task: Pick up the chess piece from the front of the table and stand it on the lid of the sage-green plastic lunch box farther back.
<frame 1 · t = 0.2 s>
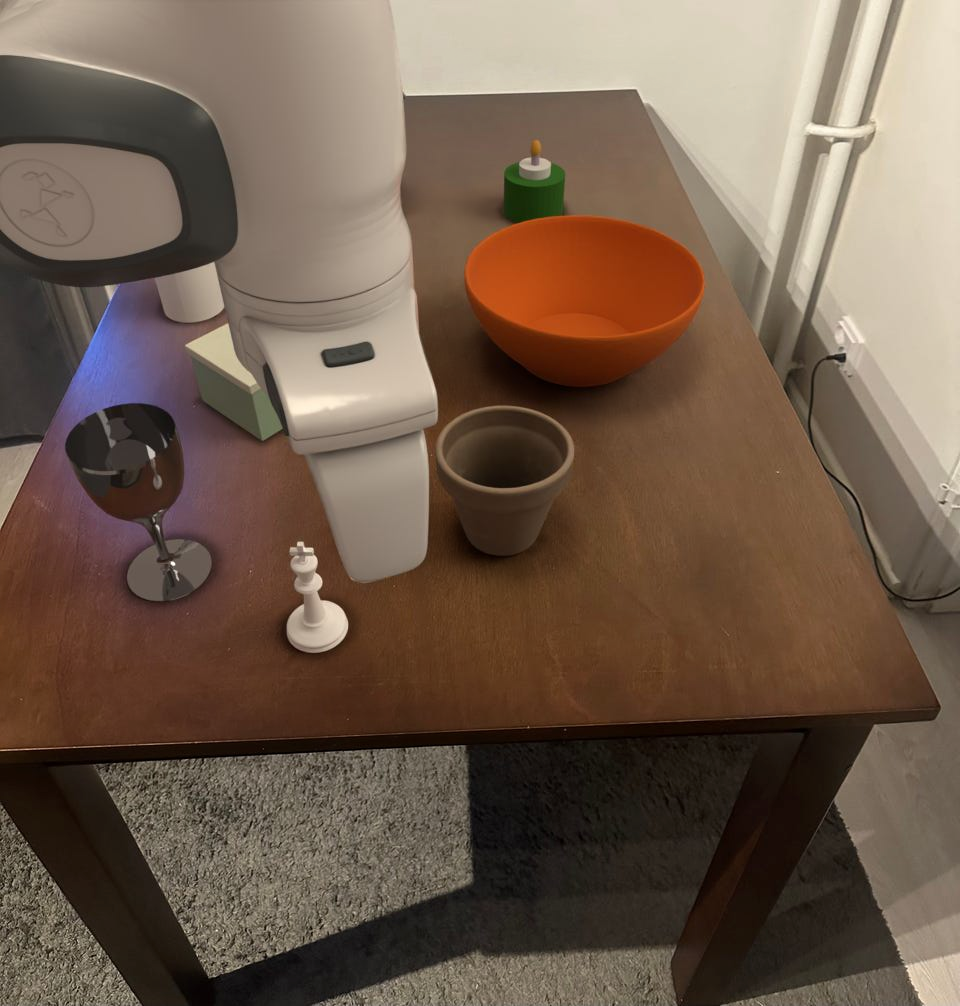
hand: (351, 514, 52), 21 cm above the table, tool pointing down, fingers open, 8 cm apart
cylindrical container: (195, 307, 107), on the table
chess piece: (318, 629, 72), on the table
flower pot: (502, 531, 80), on the table
lunch bag: (332, 200, 127), on the table
bowl: (576, 351, 100), on the table
candle: (533, 212, 125), on the table
wine glass: (170, 571, 77), on the table
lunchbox: (281, 391, 95), on the table
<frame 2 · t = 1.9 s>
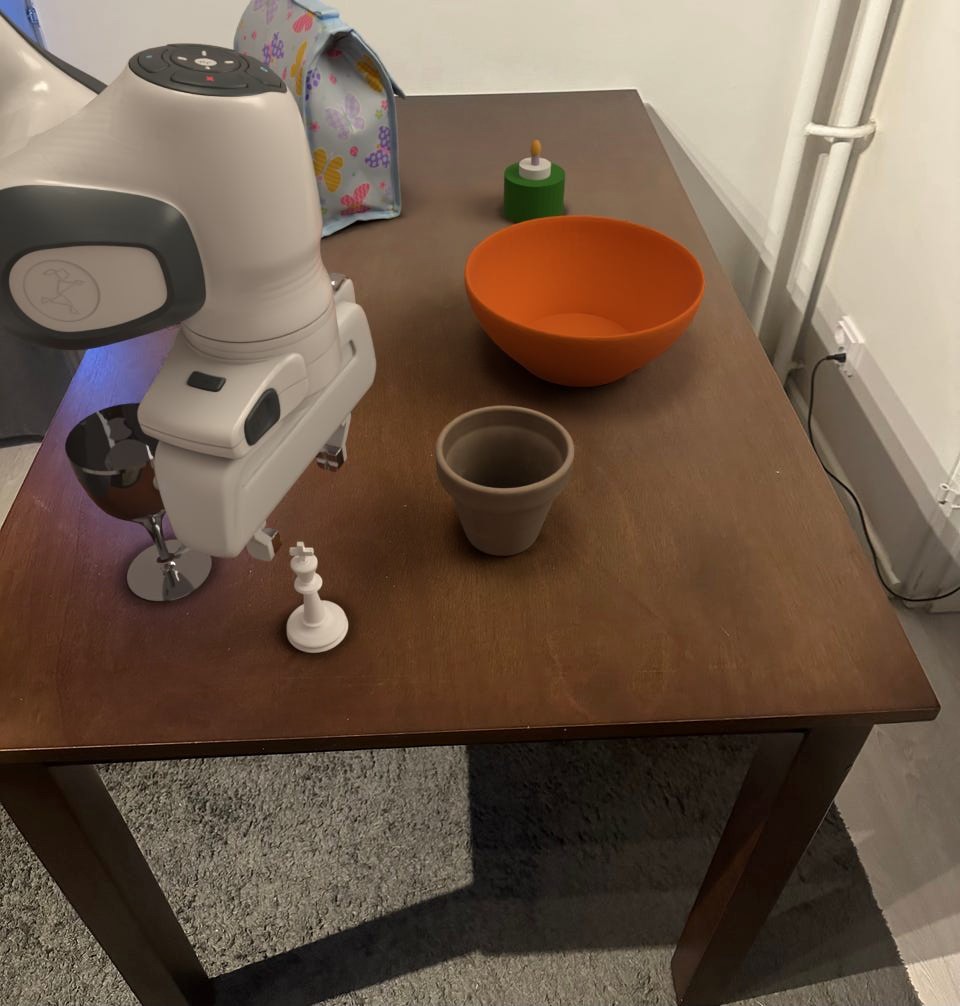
hand: (301, 506, 63), 14 cm above the table, tool pointing down, fingers open, 8 cm apart
nothing on the table moved.
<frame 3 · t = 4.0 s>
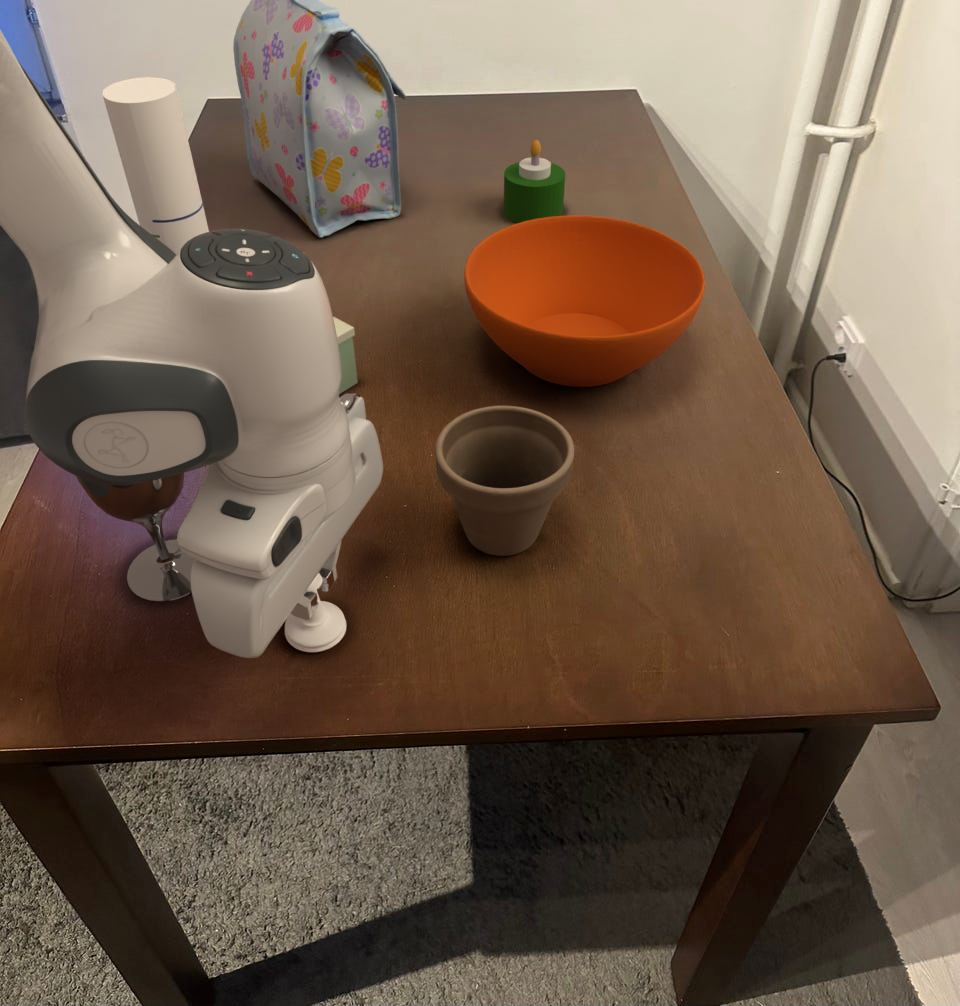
hand: (314, 597, 70), 4 cm above the table, tool pointing down, fingers closed on chess piece
chess piece: (316, 630, 72), on the table, touching gripper
everything else where it was.
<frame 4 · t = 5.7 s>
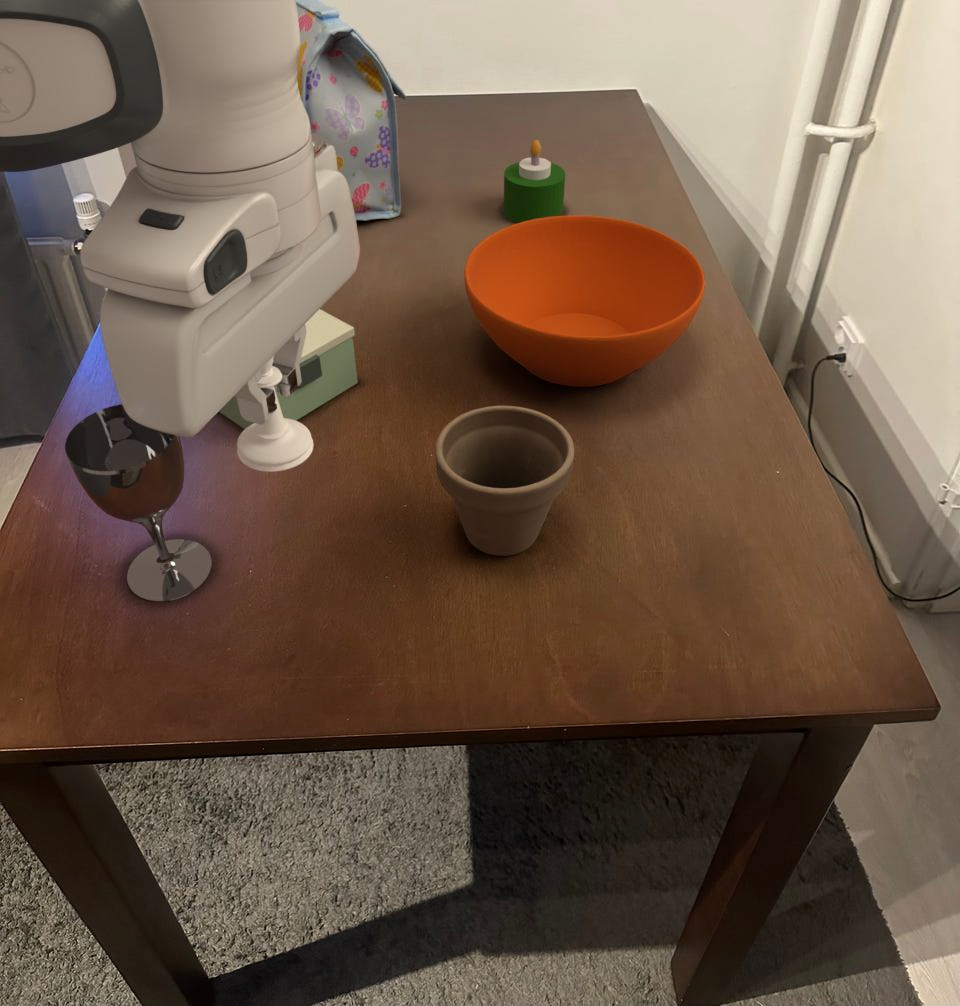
hand: (272, 402, 56), 23 cm above the table, tool pointing down, fingers closed on chess piece
chess piece: (276, 450, 59), point 19 cm above the table, touching gripper
everything else where it was.
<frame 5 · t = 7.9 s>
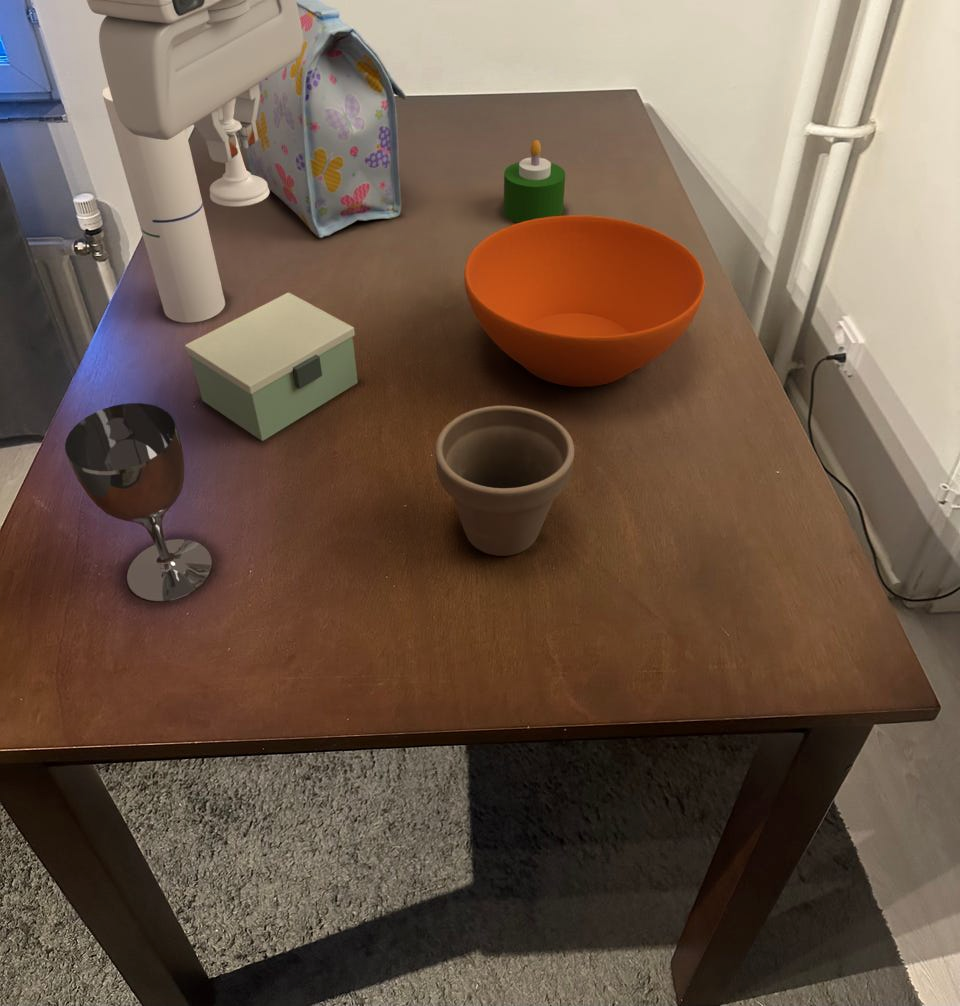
hand: (235, 151, 73), 27 cm above the table, tool pointing down, fingers closed on chess piece
chess piece: (240, 196, 75), point 24 cm above the table, touching gripper
everything else where it was.
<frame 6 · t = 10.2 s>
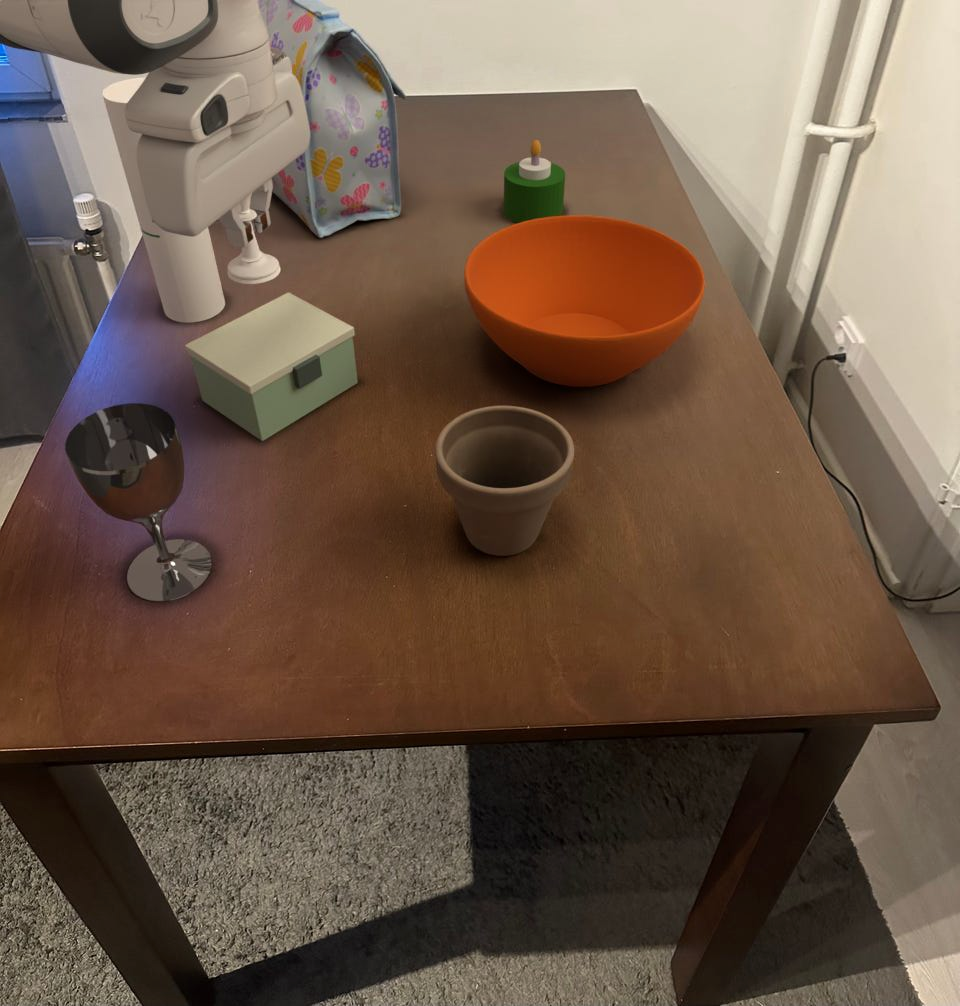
hand: (250, 236, 82), 18 cm above the table, tool pointing down, fingers closed on chess piece
chess piece: (254, 273, 85), point 14 cm above the table, touching gripper
everything else where it was.
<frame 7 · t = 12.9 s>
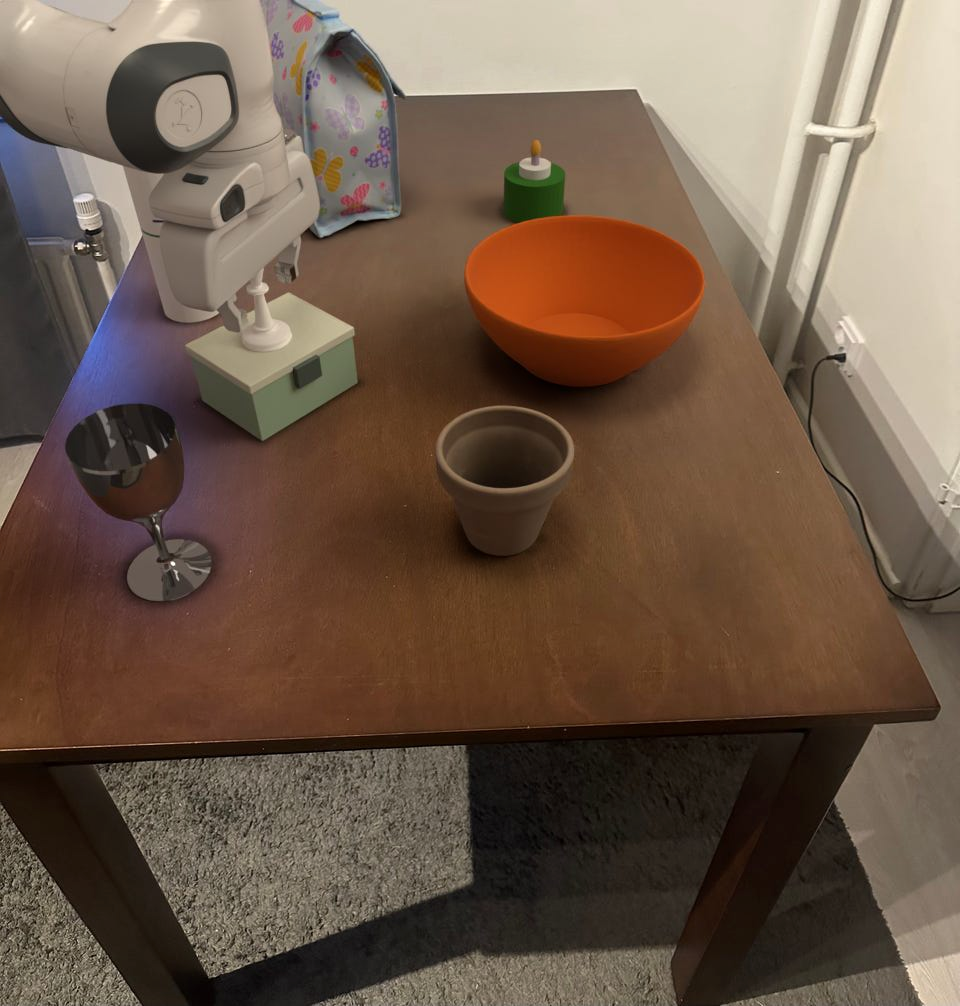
hand: (263, 303, 87), 11 cm above the table, tool pointing down, fingers open, 8 cm apart
chess piece: (267, 339, 90), point 7 cm above the table, touching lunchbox
everything else where it was.
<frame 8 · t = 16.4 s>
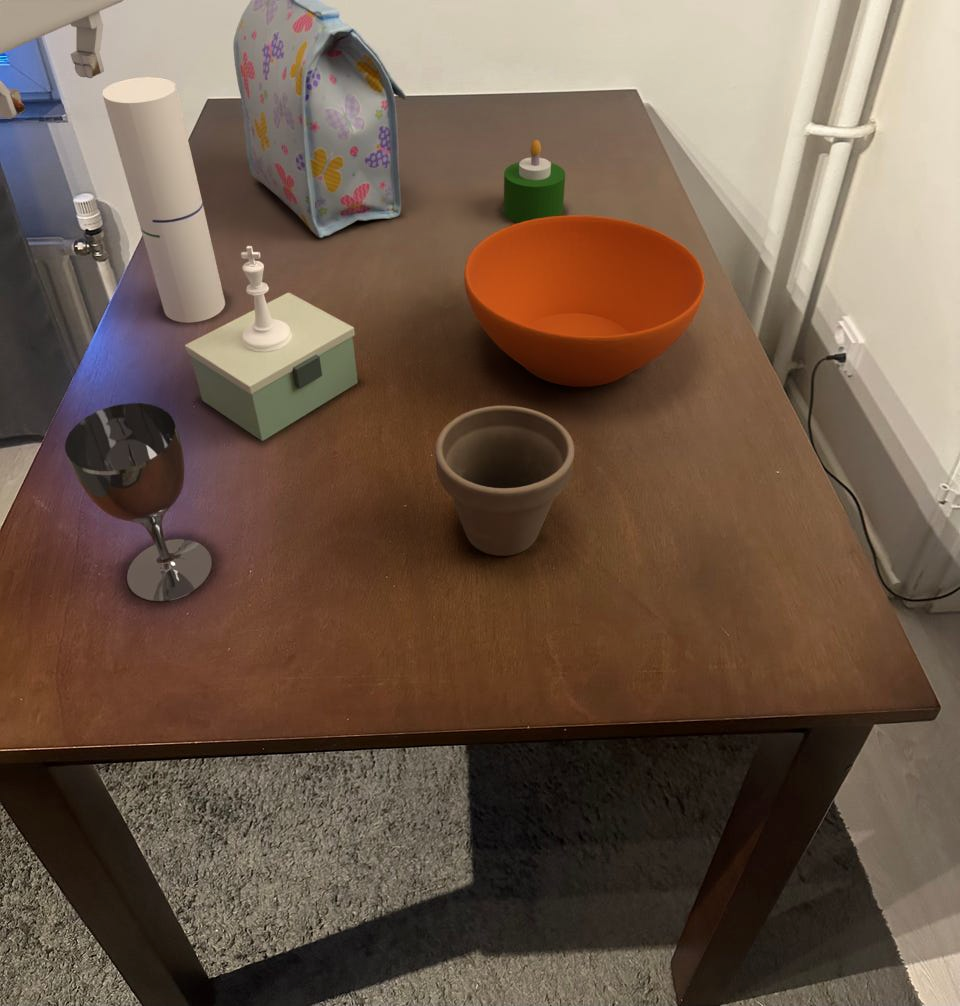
hand: (53, 94, 72), 31 cm above the table, tool pointing down, fingers open, 8 cm apart
nothing on the table moved.
at the end: chess piece inside the target area on the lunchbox (0.5 cm from its centre), point 6.8 cm above the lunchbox's base; chess piece tilted 0° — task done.
